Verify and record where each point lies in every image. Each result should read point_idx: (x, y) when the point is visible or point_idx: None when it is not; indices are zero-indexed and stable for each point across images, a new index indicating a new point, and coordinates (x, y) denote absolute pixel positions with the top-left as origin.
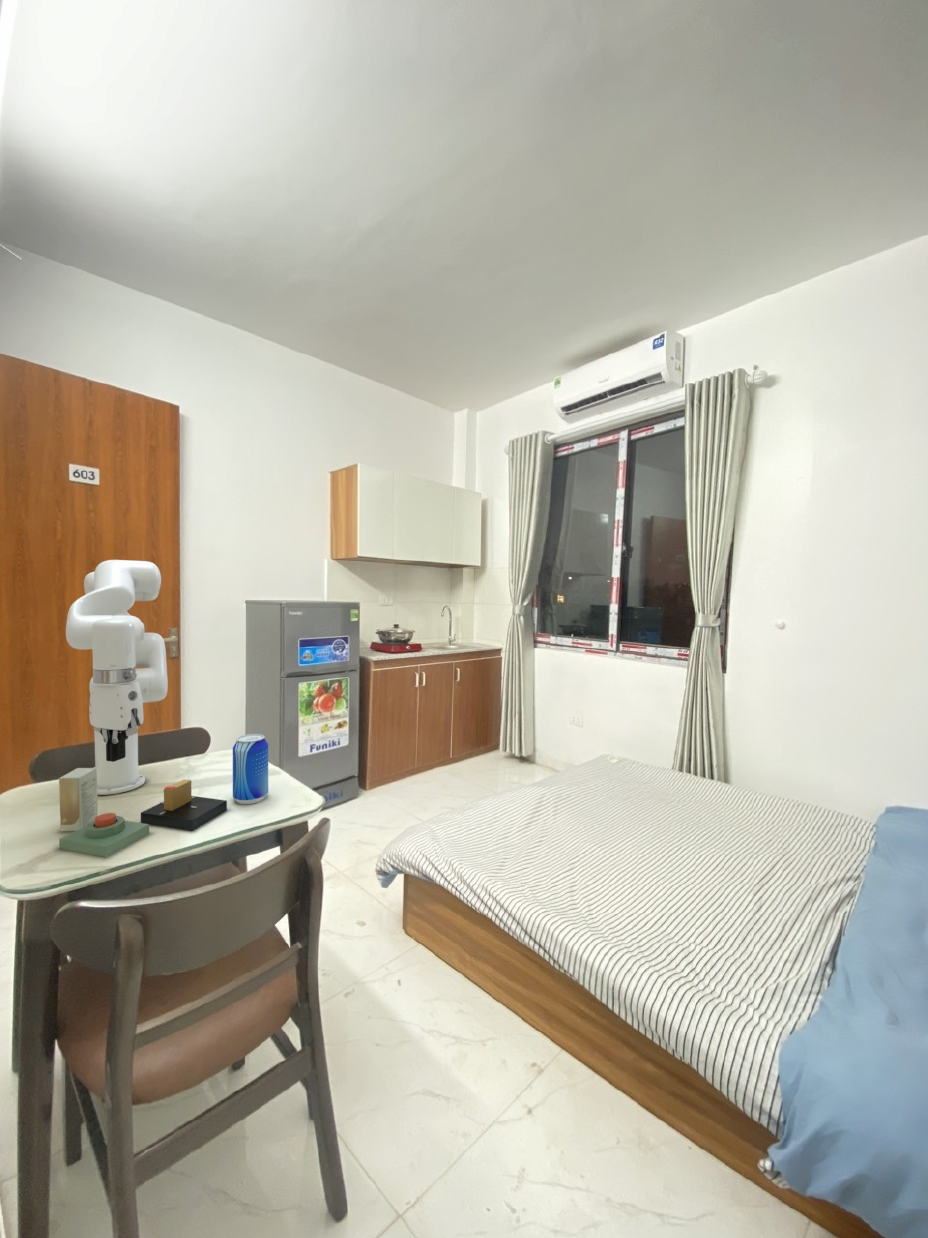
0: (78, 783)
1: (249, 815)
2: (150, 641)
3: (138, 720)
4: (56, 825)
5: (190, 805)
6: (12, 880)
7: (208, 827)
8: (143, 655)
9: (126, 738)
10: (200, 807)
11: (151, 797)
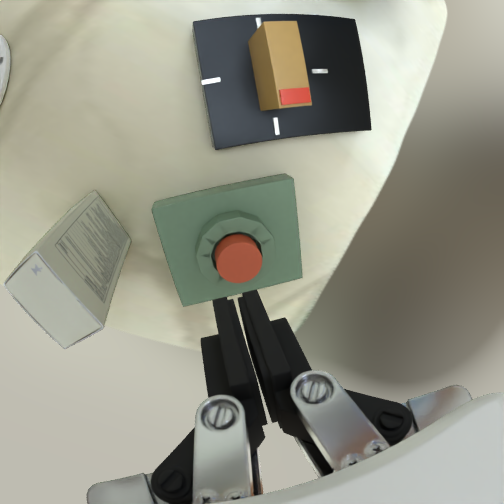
0: (106, 315)
1: (395, 38)
2: None
3: (484, 440)
4: None
5: None
6: None
7: (370, 102)
8: None
9: (346, 391)
10: (333, 66)
11: (84, 50)
